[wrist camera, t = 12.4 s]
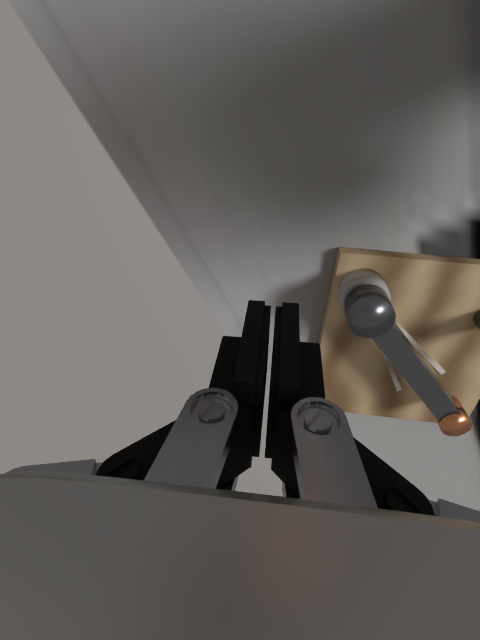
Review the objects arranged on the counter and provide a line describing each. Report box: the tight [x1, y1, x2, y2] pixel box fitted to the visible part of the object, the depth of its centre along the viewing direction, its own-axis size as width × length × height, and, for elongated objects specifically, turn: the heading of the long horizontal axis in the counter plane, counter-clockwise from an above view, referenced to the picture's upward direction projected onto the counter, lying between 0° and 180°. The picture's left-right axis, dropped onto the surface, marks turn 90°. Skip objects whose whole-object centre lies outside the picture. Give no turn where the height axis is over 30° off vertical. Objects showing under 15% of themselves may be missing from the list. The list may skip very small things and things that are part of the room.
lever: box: [344, 284, 472, 436], centre depth 39 cm, size 22×4×3 cm, turn 41°
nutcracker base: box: [319, 247, 480, 423], centre depth 41 cm, size 21×23×8 cm
